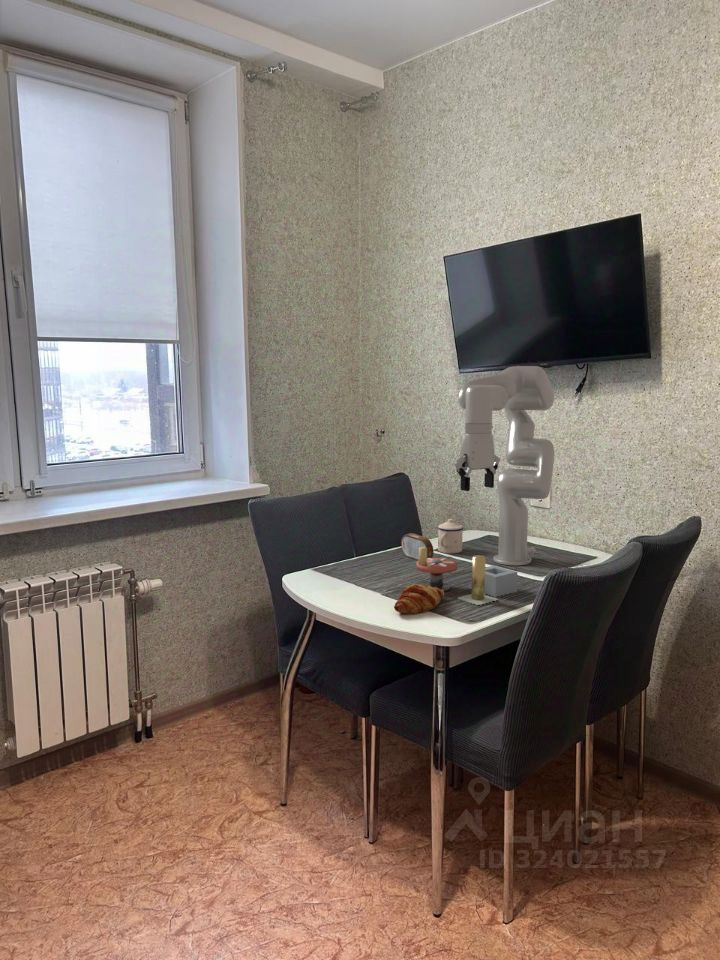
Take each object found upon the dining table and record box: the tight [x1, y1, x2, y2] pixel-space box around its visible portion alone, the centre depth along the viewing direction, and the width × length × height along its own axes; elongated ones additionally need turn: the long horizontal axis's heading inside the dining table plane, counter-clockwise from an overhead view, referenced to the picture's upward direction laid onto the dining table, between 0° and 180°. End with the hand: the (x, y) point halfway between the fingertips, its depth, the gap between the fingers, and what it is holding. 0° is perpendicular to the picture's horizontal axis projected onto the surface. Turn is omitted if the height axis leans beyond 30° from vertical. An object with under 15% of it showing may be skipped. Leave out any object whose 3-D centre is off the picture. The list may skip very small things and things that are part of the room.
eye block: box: [485, 565, 518, 598], centre depth 207 cm, size 9×9×6 cm
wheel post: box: [423, 573, 451, 593], centre depth 210 cm, size 8×8×6 cm
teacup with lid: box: [437, 518, 464, 554], centre depth 254 cm, size 12×9×12 cm
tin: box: [400, 532, 435, 561], centre depth 244 cm, size 15×3×8 cm, turn 35°
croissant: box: [393, 584, 445, 615], centre depth 193 cm, size 21×10×8 cm, turn 140°
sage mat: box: [457, 593, 499, 606], centre depth 199 cm, size 8×8×1 cm
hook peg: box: [471, 554, 487, 600], centre depth 199 cm, size 4×4×12 cm
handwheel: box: [415, 547, 458, 574], centre depth 209 cm, size 12×12×6 cm
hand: (477, 488), depth 204 cm, fingers open, 9 cm apart
